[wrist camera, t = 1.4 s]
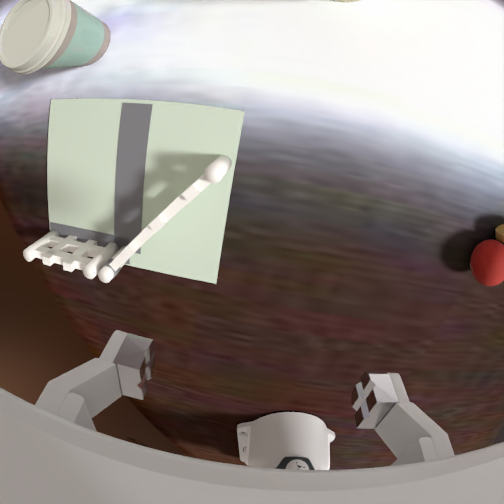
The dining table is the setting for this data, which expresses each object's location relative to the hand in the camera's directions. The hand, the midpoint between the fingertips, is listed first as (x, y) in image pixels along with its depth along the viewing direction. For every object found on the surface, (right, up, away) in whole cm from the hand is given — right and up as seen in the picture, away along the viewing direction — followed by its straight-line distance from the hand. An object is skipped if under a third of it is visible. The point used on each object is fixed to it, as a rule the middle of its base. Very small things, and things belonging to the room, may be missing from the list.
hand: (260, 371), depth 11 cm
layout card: (-15, +12, +22) cm, 29 cm away
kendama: (+36, +6, +22) cm, 43 cm away
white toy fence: (-9, +9, +22) cm, 26 cm away
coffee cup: (-19, +28, +15) cm, 37 cm away
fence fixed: (-22, +6, +25) cm, 34 cm away
